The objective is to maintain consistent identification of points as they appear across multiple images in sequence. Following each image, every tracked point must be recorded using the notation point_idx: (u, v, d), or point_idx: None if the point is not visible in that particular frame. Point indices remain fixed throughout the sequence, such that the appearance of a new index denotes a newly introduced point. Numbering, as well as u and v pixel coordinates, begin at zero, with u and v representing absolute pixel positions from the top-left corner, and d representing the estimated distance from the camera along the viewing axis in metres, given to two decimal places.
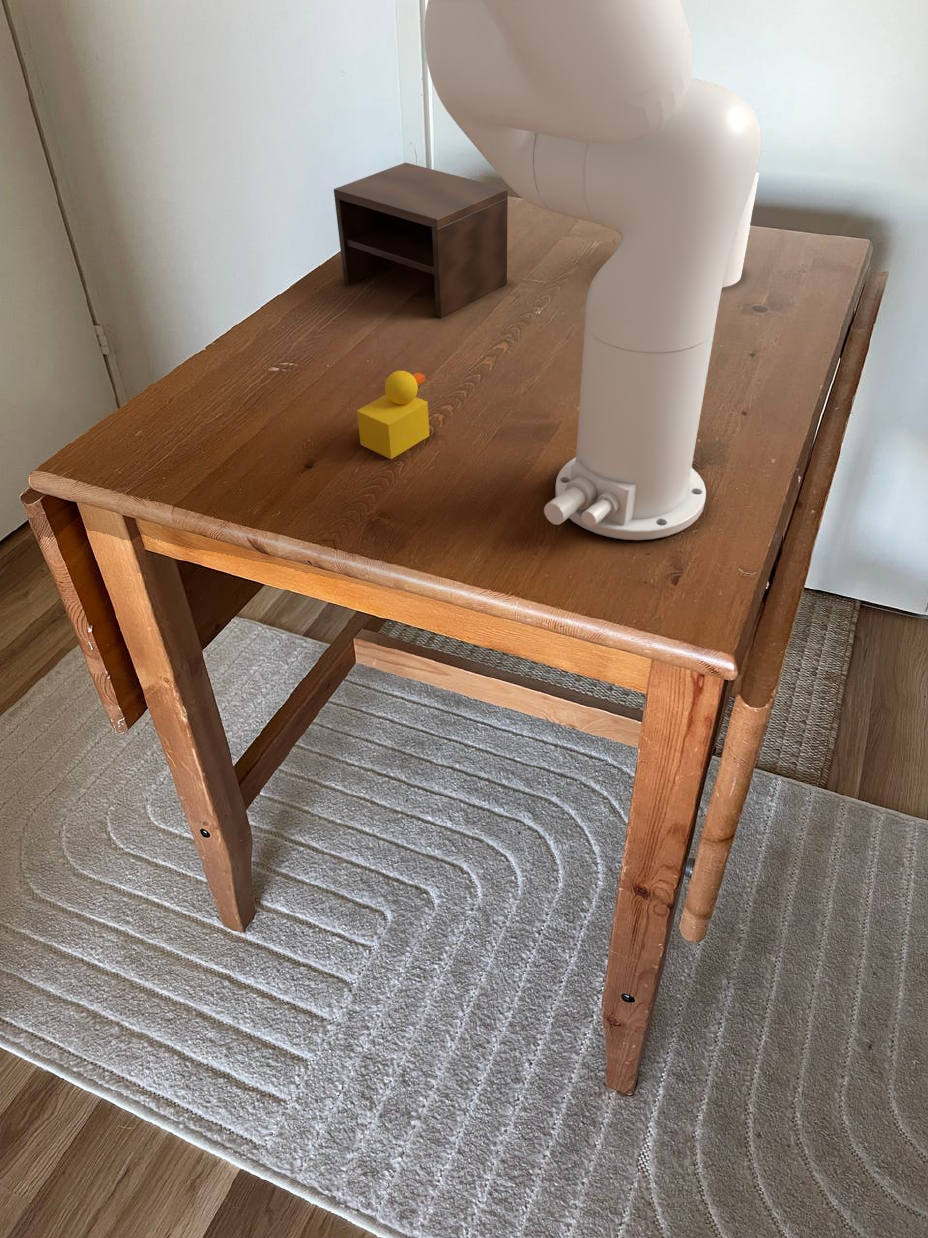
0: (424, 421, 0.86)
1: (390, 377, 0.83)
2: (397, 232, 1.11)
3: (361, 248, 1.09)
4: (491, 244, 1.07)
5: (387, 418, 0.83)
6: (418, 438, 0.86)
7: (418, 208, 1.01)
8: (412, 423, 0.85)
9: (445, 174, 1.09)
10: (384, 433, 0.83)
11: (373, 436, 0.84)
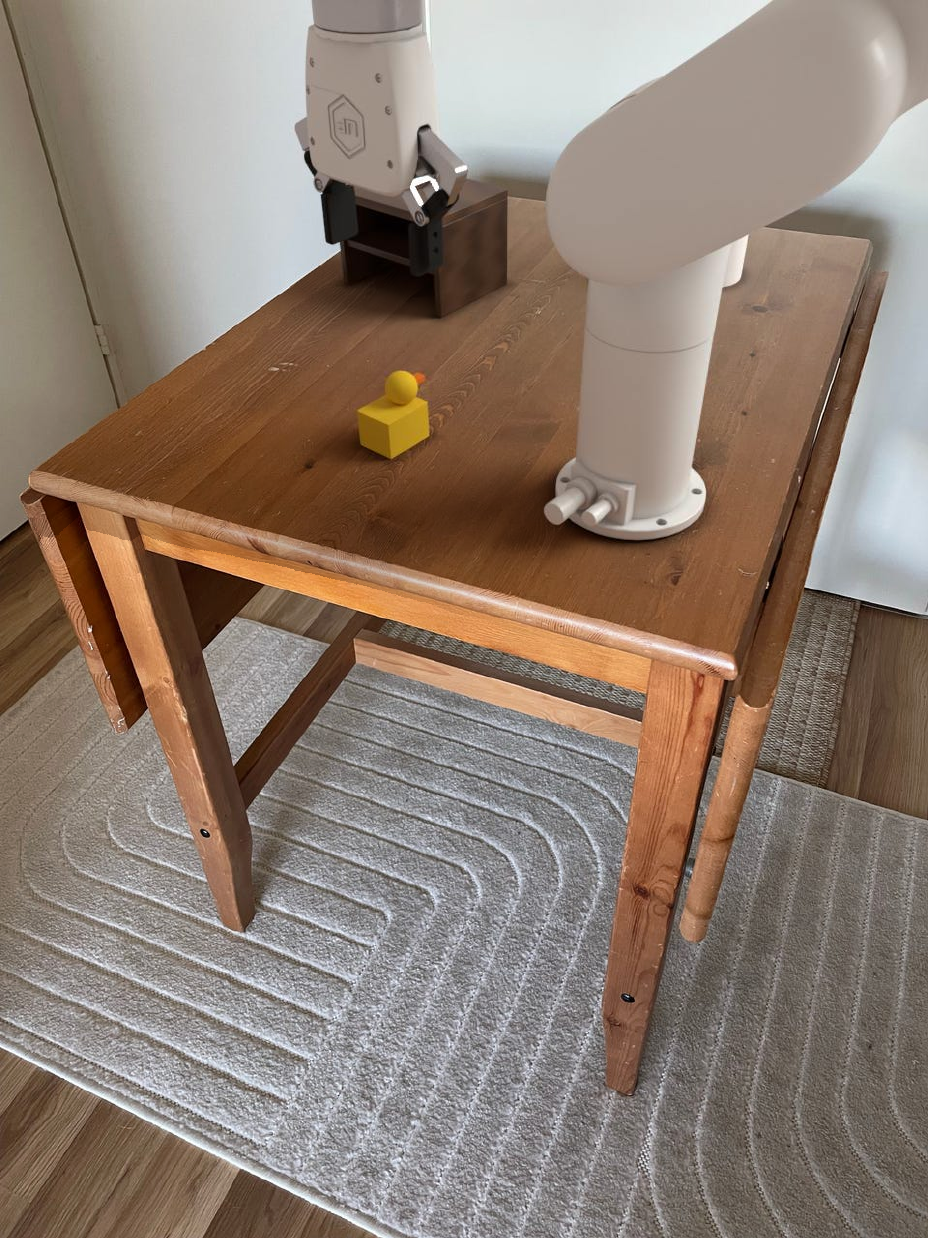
0: (424, 421, 0.86)
1: (390, 377, 0.83)
2: (397, 232, 1.11)
3: (361, 248, 1.09)
4: (491, 244, 1.07)
5: (387, 418, 0.83)
6: (418, 438, 0.86)
7: None
8: (412, 423, 0.85)
9: None
10: (384, 433, 0.83)
11: (373, 436, 0.84)
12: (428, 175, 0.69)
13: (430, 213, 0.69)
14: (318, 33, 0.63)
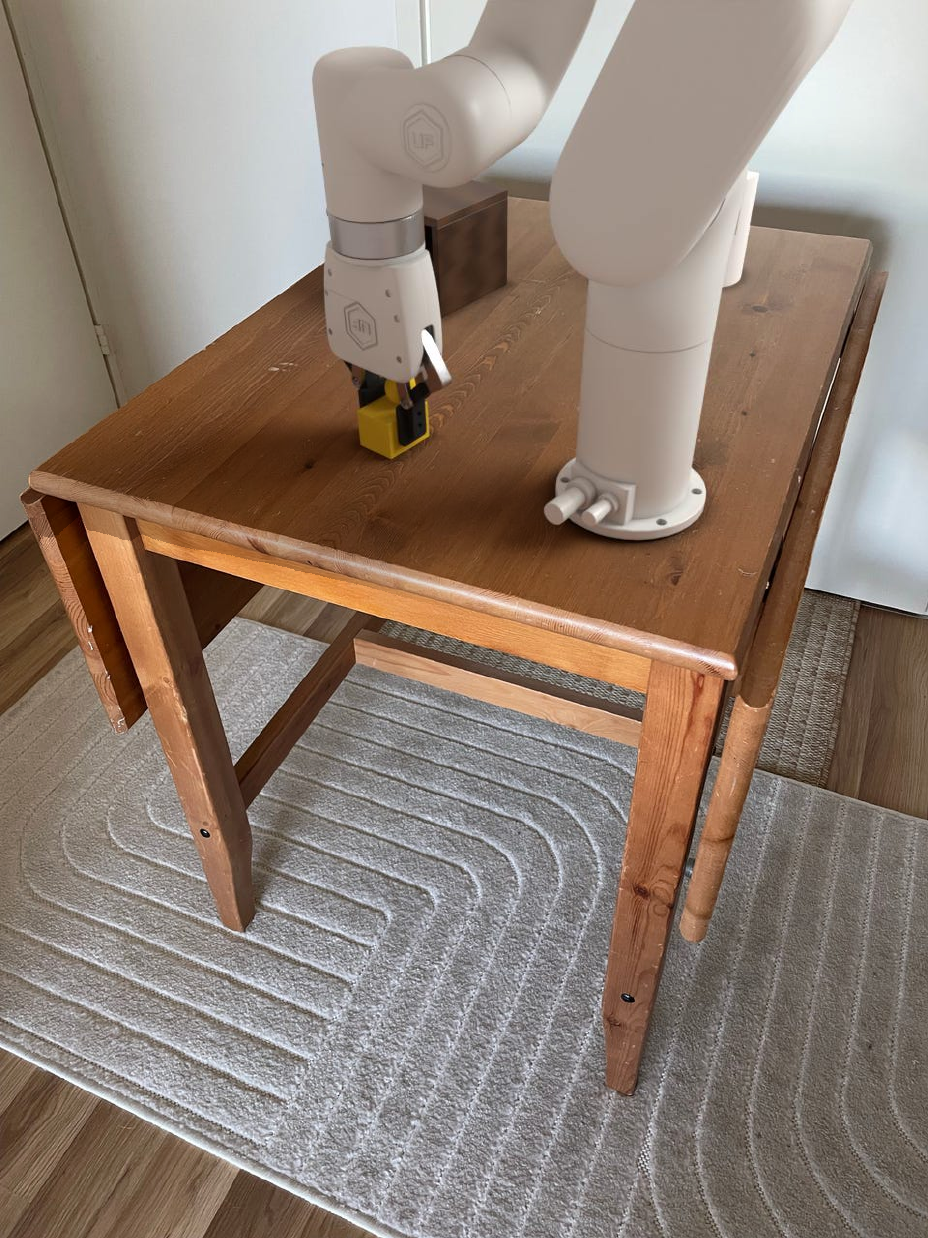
0: None
1: None
2: None
3: None
4: (491, 244, 1.07)
5: (387, 418, 0.83)
6: None
7: None
8: None
9: None
10: (384, 433, 0.83)
11: (373, 436, 0.85)
12: (422, 367, 0.80)
13: (414, 399, 0.81)
14: (335, 255, 0.73)
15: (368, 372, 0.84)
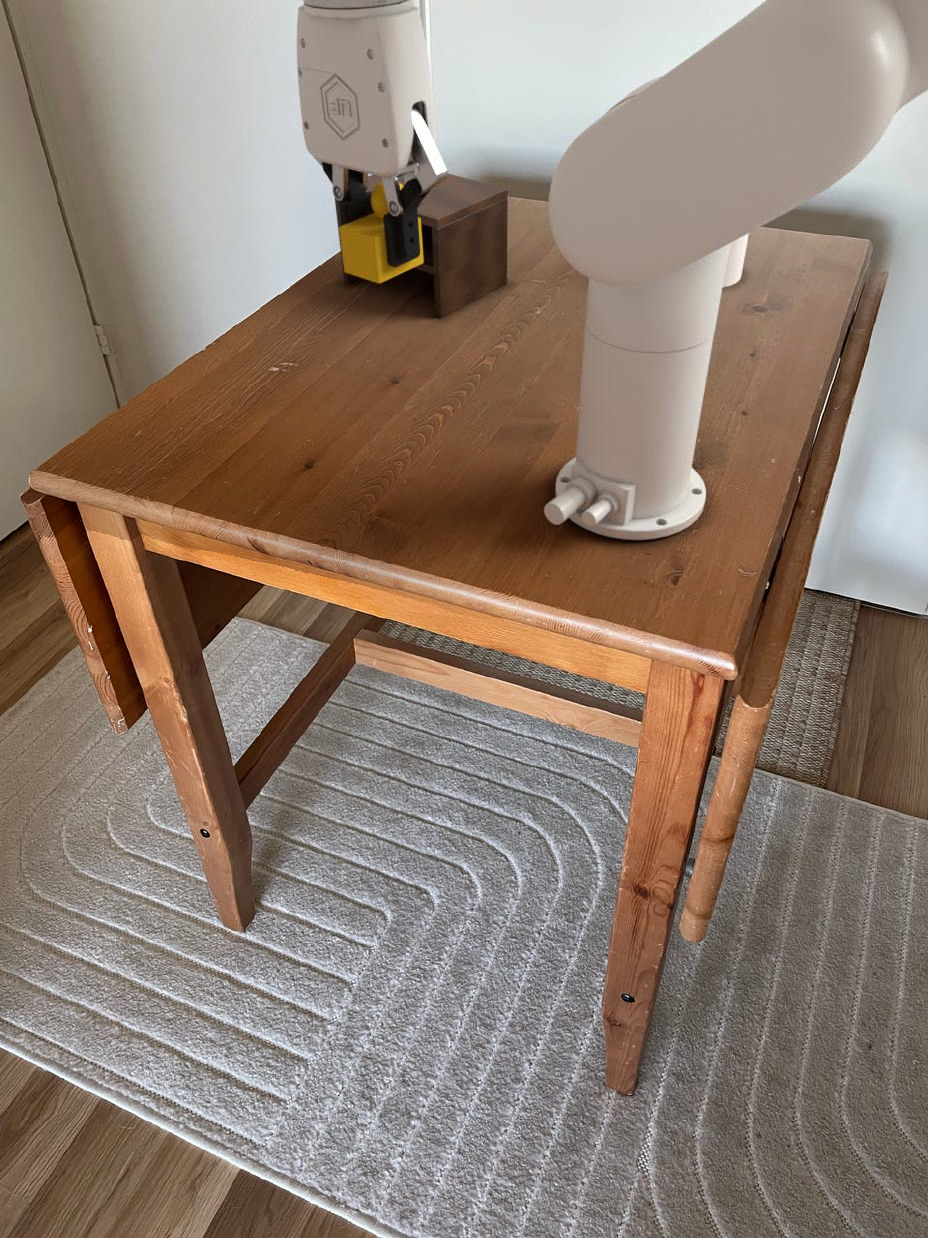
0: None
1: (377, 186, 0.72)
2: None
3: None
4: (491, 244, 1.07)
5: (374, 231, 0.72)
6: (410, 263, 0.75)
7: (418, 208, 1.01)
8: None
9: None
10: (370, 250, 0.72)
11: (358, 256, 0.73)
12: (413, 165, 0.69)
13: (404, 203, 0.69)
14: (308, 11, 0.62)
15: (352, 182, 0.73)
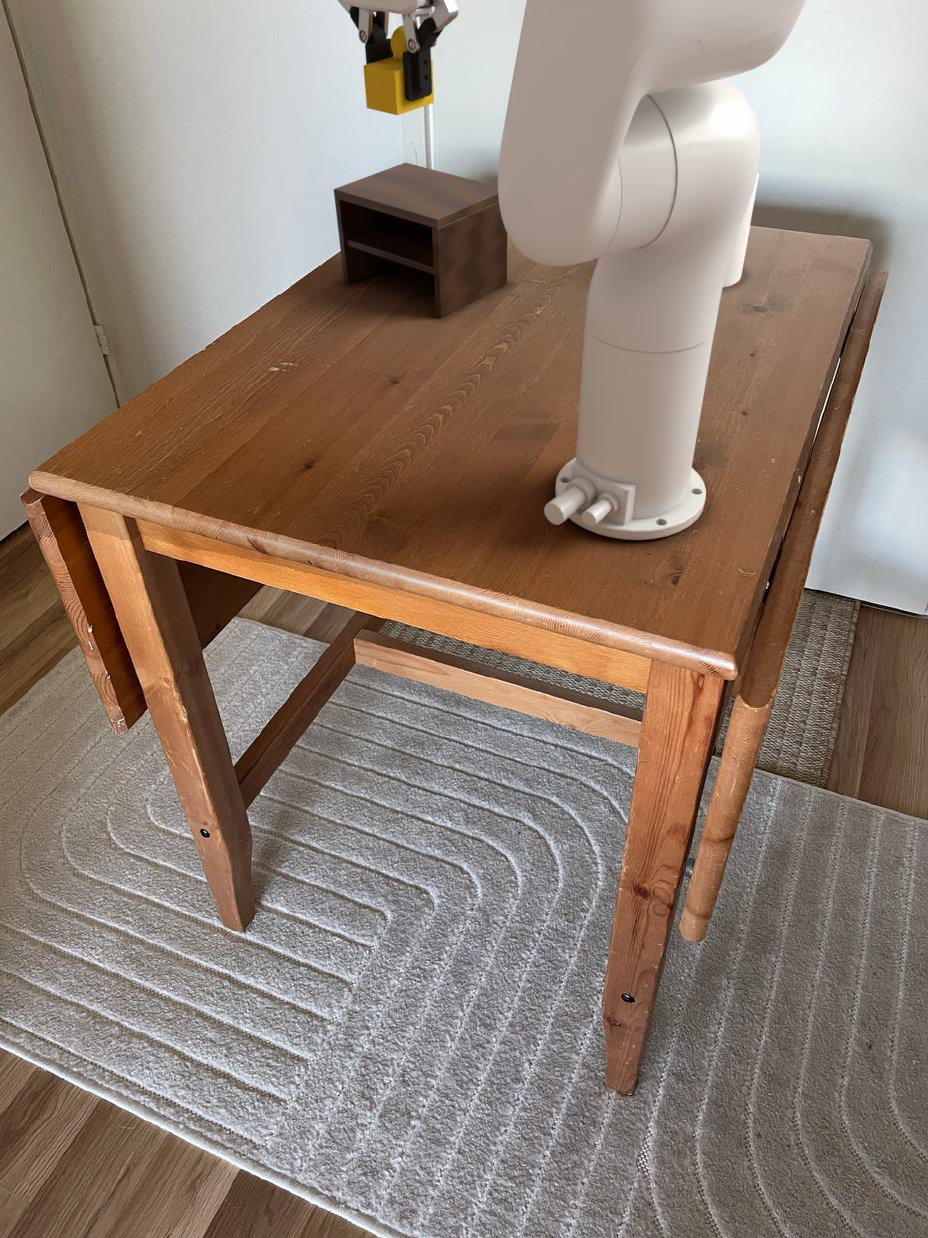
0: None
1: (396, 29, 0.85)
2: (397, 232, 1.11)
3: (361, 248, 1.09)
4: (491, 244, 1.07)
5: (393, 68, 0.85)
6: (423, 100, 0.88)
7: (418, 208, 1.01)
8: None
9: (445, 174, 1.09)
10: (390, 84, 0.85)
11: (379, 91, 0.86)
12: (428, 8, 0.82)
13: (421, 40, 0.83)
14: None
15: (375, 27, 0.86)
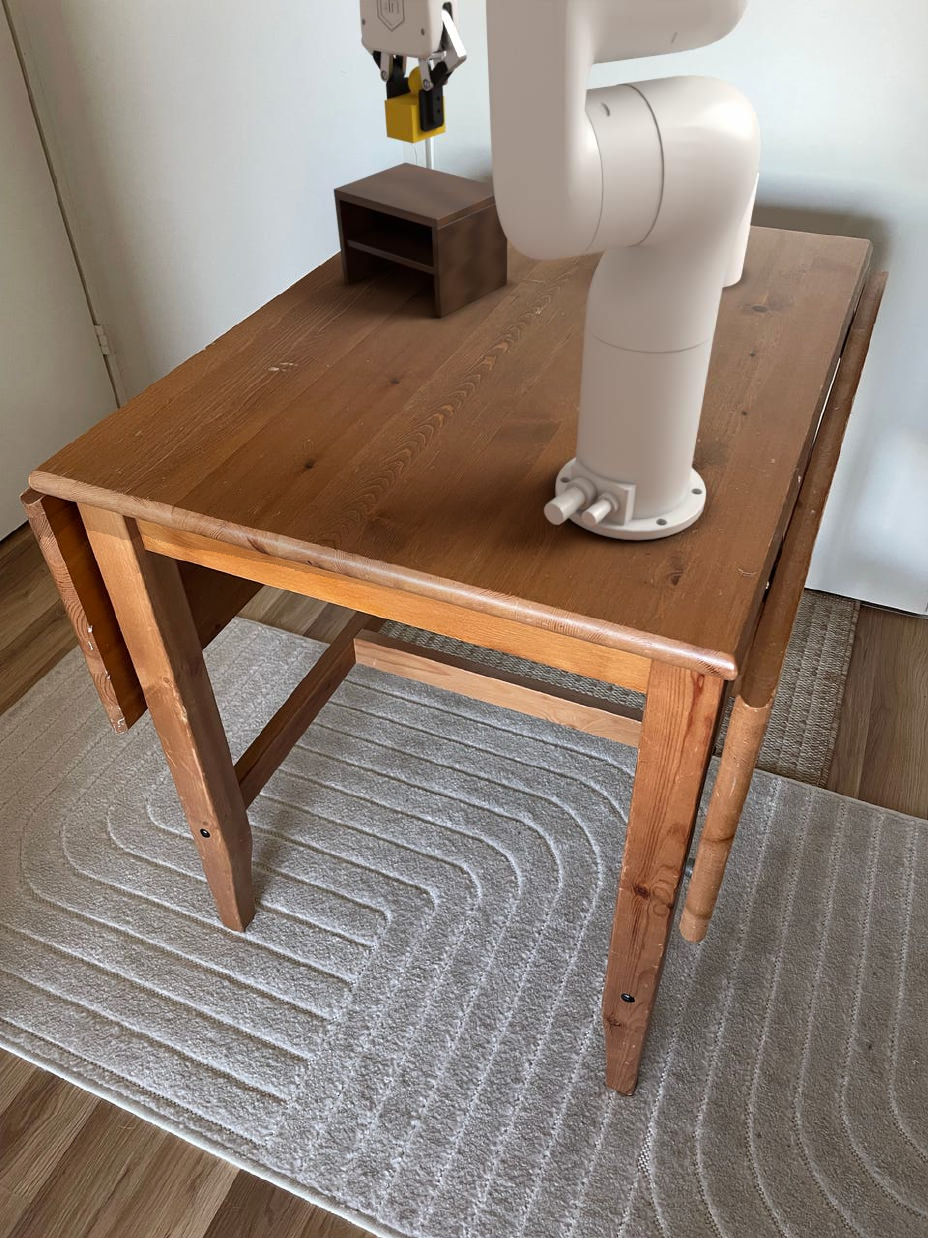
0: None
1: (413, 69, 0.98)
2: (397, 232, 1.11)
3: (361, 248, 1.09)
4: (491, 244, 1.07)
5: (410, 103, 0.98)
6: (436, 130, 1.01)
7: (418, 208, 1.01)
8: None
9: (445, 174, 1.09)
10: (408, 117, 0.98)
11: (398, 123, 0.99)
12: (441, 52, 0.95)
13: (434, 80, 0.96)
14: None
15: (394, 68, 0.99)
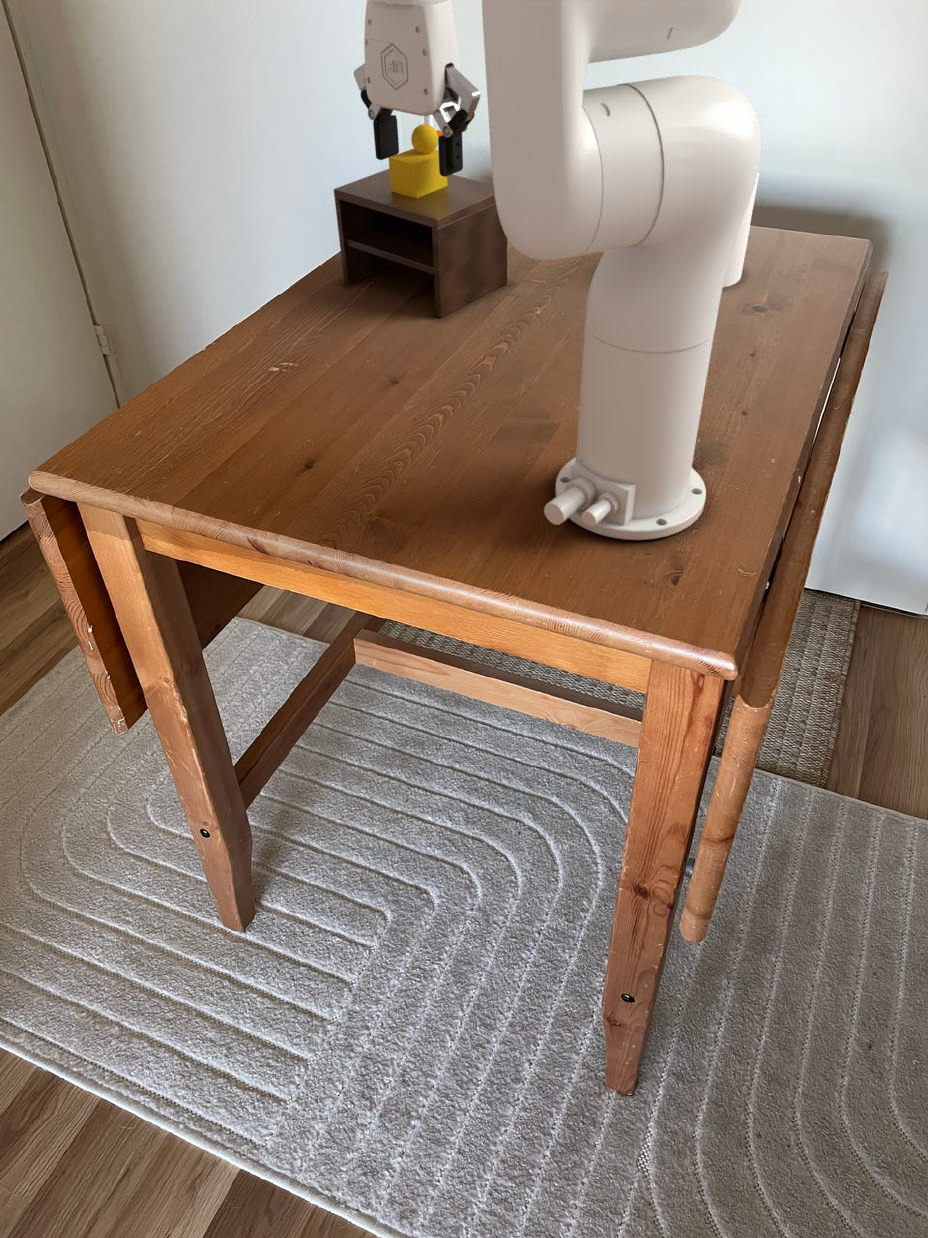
0: None
1: (416, 128, 1.02)
2: (397, 232, 1.11)
3: (361, 248, 1.09)
4: (491, 244, 1.07)
5: (413, 160, 1.02)
6: (438, 185, 1.05)
7: (418, 208, 1.01)
8: (434, 168, 1.03)
9: None
10: (411, 174, 1.02)
11: (402, 179, 1.03)
12: (452, 101, 0.98)
13: (454, 127, 0.97)
14: (375, 0, 0.92)
15: None
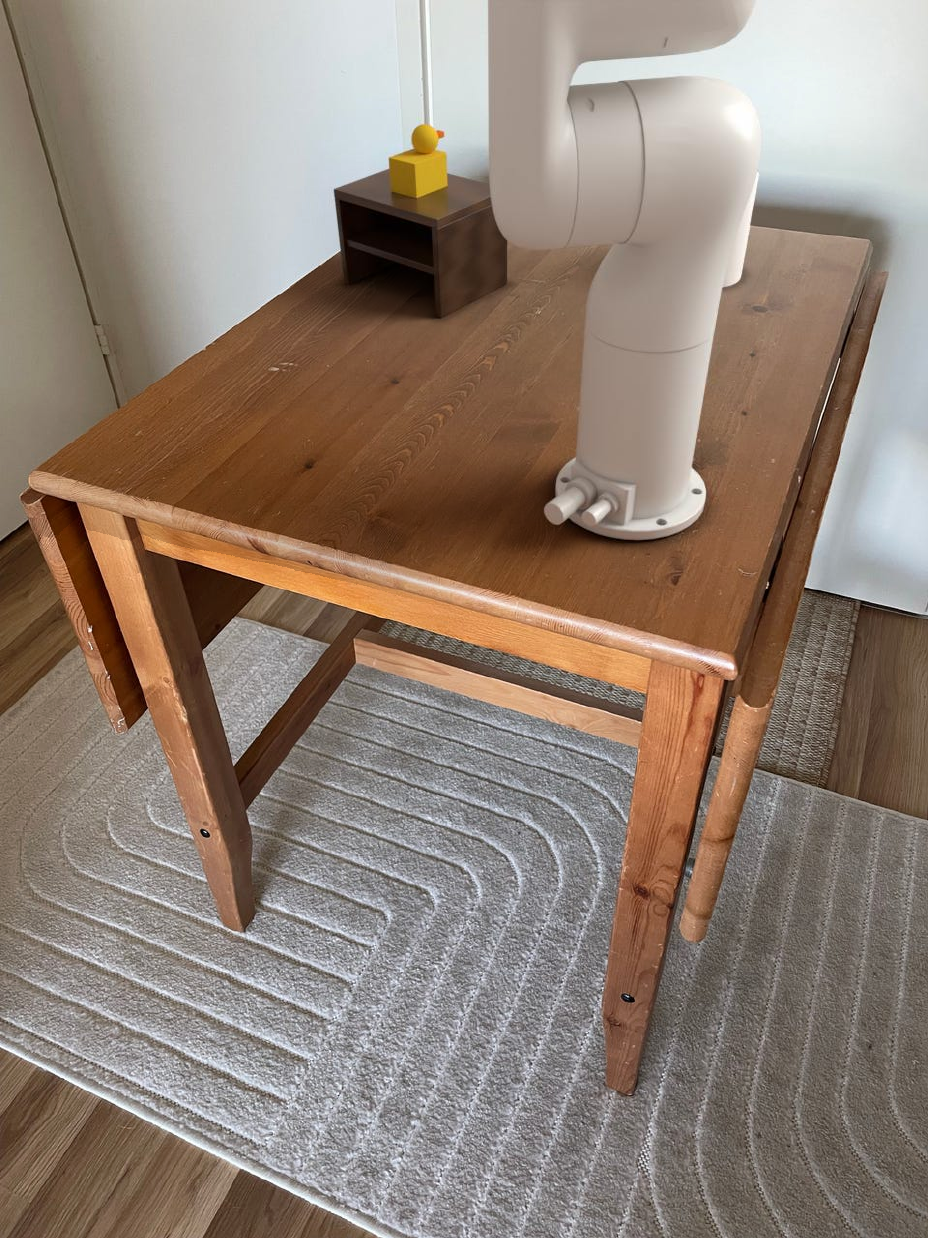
0: (443, 170, 1.05)
1: (416, 128, 1.02)
2: (397, 232, 1.11)
3: (361, 248, 1.09)
4: (491, 244, 1.07)
5: (413, 160, 1.02)
6: (438, 185, 1.05)
7: (418, 208, 1.01)
8: (434, 168, 1.03)
9: None
10: (411, 174, 1.02)
11: (402, 179, 1.03)
12: None
13: None
14: None
15: None
